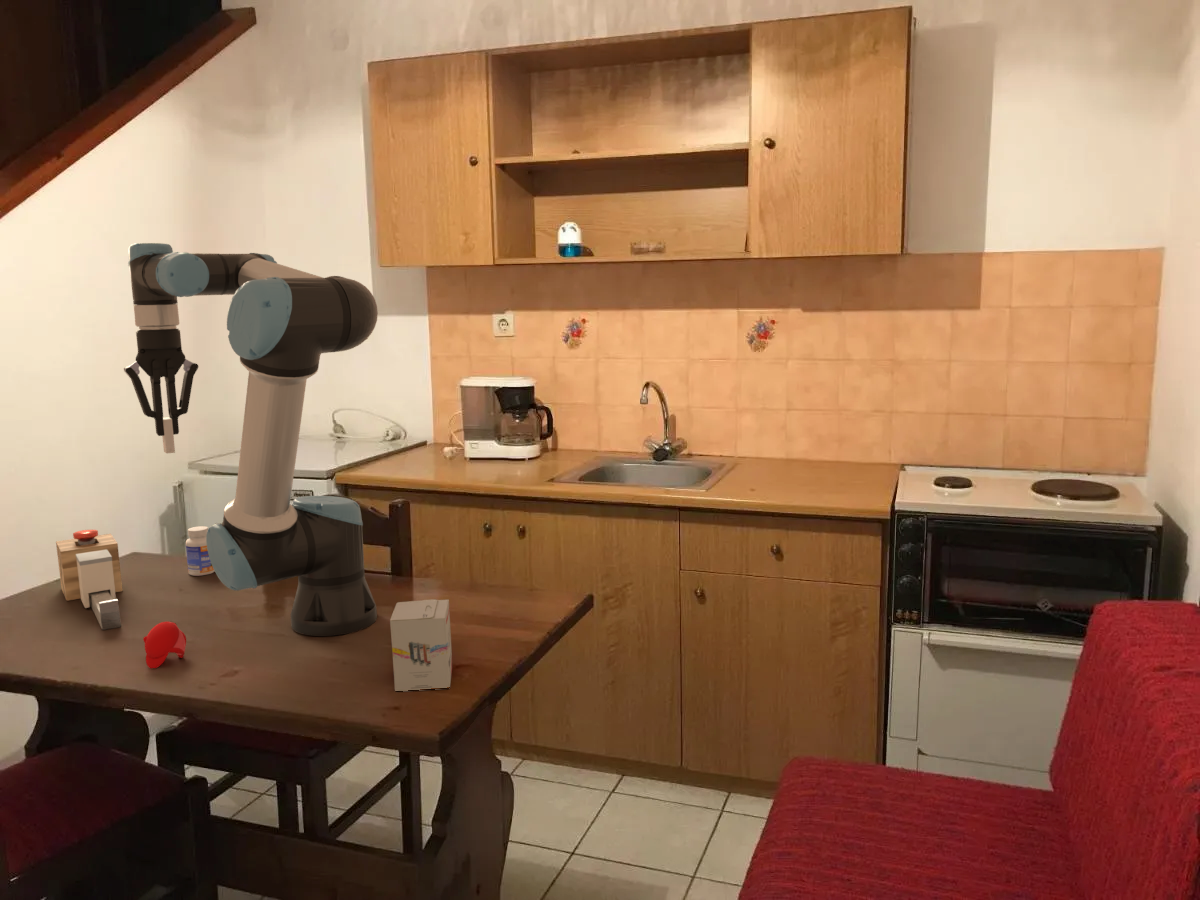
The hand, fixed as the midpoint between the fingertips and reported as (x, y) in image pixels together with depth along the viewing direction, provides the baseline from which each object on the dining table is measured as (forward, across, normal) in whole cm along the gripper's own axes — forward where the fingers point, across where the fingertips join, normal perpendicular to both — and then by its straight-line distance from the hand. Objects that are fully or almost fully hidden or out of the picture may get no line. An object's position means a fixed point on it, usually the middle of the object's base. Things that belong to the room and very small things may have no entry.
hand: (169, 451), depth 184 cm
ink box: (+30, -23, +63) cm, 74 cm away
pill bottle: (+30, -7, -16) cm, 34 cm away
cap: (+30, +9, +31) cm, 44 cm away
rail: (+29, +14, -2) cm, 33 cm away
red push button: (+22, +14, -17) cm, 31 cm away
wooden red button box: (+29, +14, -17) cm, 37 cm away
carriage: (+29, +14, -7) cm, 33 cm away
